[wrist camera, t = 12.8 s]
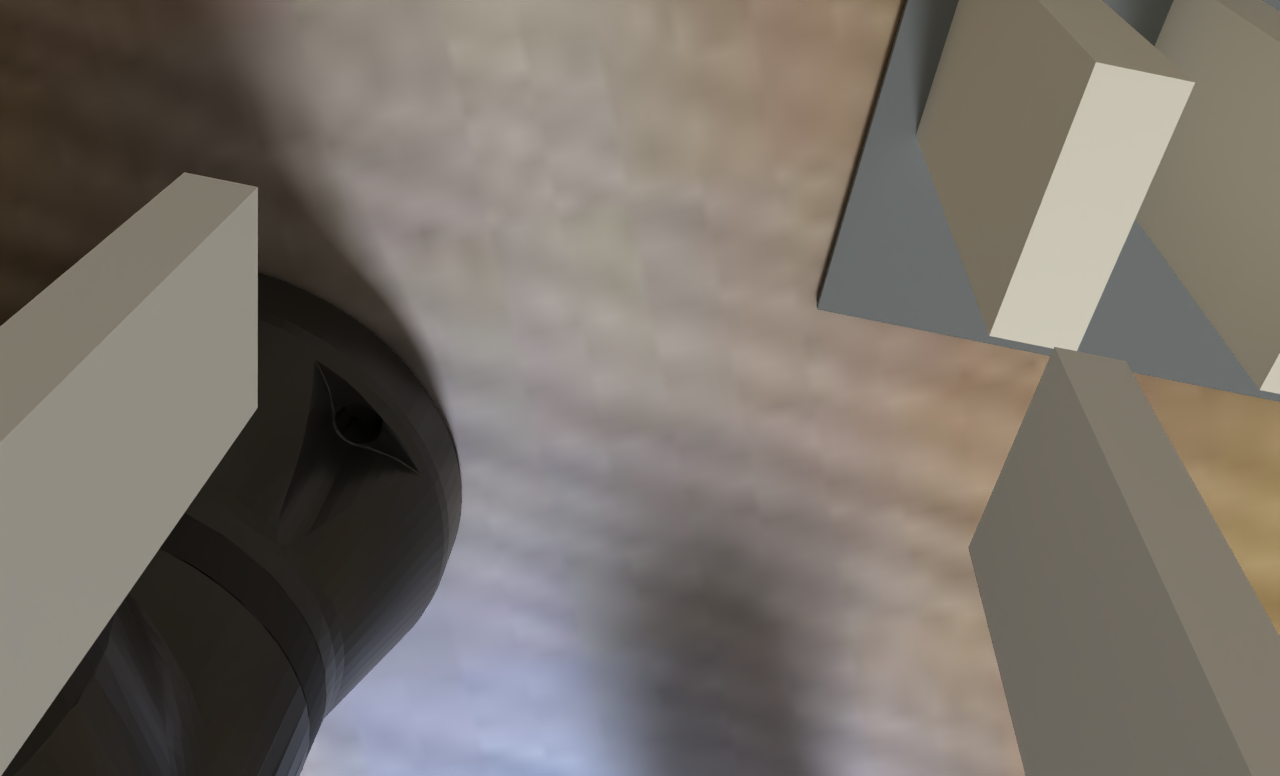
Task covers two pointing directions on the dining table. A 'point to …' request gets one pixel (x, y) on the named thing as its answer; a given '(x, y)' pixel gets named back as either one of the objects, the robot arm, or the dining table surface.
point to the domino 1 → (1045, 154)
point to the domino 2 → (1225, 175)
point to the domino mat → (932, 267)
